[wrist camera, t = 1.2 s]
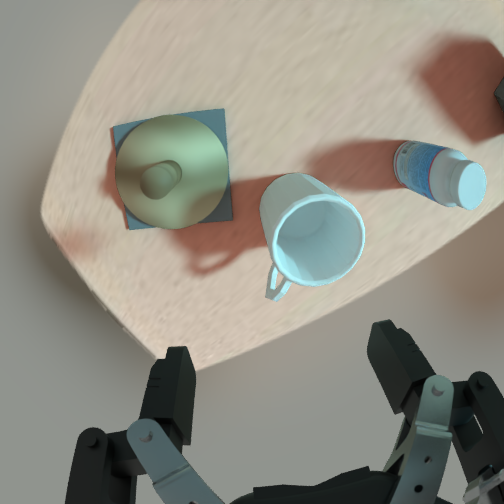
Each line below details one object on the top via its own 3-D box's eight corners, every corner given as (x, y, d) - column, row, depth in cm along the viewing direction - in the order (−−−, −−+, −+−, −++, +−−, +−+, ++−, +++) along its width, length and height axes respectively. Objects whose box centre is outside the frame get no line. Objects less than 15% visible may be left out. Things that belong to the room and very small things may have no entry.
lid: (113, 126, 25) (85, 128, 19) (224, 108, 25) (221, 103, 19) (129, 230, 30) (109, 253, 24) (232, 220, 30) (232, 243, 25)
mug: (231, 252, 32) (230, 301, 24) (281, 159, 28) (303, 175, 19) (289, 277, 34) (307, 330, 26) (342, 194, 30) (382, 224, 21)
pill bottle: (395, 192, 30) (452, 225, 20) (387, 144, 28) (450, 159, 18) (430, 182, 30) (490, 210, 20) (425, 137, 27) (489, 151, 17)
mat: (115, 126, 25) (113, 126, 25) (224, 109, 25) (224, 108, 25) (131, 228, 30) (129, 230, 30) (232, 218, 31) (232, 220, 30)
